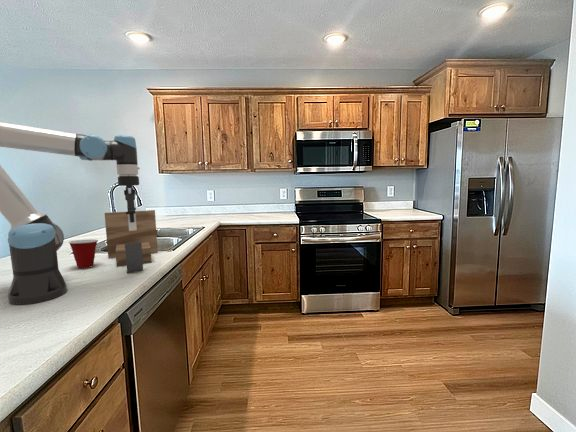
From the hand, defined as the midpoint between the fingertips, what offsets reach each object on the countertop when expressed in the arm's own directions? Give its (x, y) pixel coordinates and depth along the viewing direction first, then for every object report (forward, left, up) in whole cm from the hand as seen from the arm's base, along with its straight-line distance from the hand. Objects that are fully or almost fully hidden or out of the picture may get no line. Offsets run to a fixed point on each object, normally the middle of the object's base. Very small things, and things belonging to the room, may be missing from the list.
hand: (132, 228), depth 126 cm
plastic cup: (+18, +19, -19) cm, 32 cm away
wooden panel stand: (+21, 0, -18) cm, 28 cm away
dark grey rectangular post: (0, 0, -18) cm, 18 cm away
